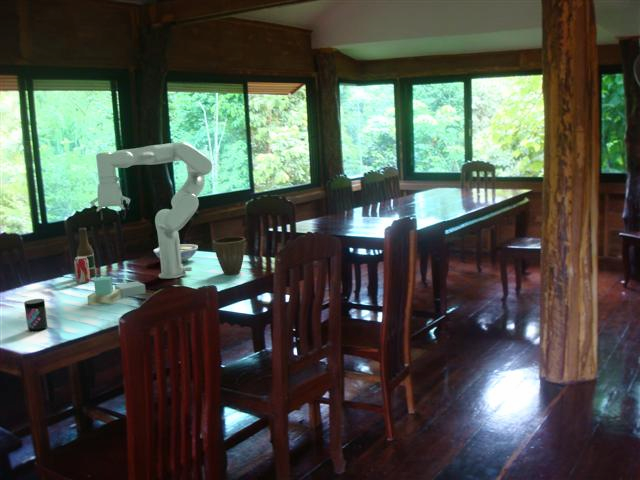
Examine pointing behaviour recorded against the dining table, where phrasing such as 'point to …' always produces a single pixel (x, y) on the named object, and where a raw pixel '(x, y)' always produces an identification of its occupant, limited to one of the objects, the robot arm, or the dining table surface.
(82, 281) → the beverage can
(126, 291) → the slate block
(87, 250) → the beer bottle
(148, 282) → the dining table surface
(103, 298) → the tan flat lump
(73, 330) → the dining table surface
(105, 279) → the teal cube
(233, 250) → the plant pot
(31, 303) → the supplement container
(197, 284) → the dining table surface
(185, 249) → the ramen bowl
